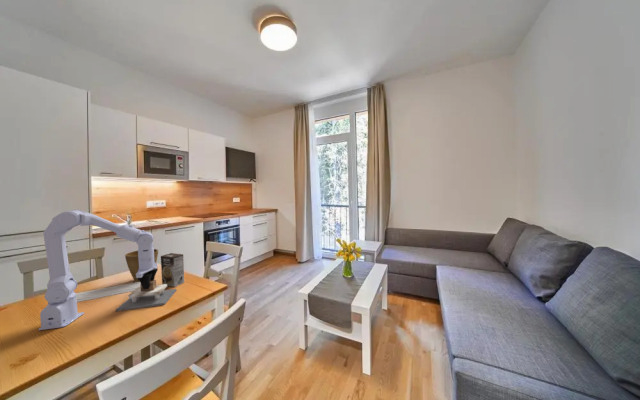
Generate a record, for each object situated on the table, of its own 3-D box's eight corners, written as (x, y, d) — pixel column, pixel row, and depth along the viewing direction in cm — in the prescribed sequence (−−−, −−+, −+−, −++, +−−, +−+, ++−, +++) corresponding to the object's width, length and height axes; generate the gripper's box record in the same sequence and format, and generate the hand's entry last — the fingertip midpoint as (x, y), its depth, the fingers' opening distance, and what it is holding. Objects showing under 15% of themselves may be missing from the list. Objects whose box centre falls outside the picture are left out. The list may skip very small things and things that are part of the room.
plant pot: (147, 284, 119) (146, 255, 118) (119, 285, 118) (117, 256, 117) (165, 273, 133) (164, 248, 133) (140, 274, 133) (138, 248, 132)
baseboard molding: (142, 291, 112) (146, 283, 122) (142, 286, 112) (146, 277, 122) (53, 309, 96) (66, 298, 106) (52, 303, 96) (66, 292, 106)
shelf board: (128, 297, 96) (127, 287, 96) (138, 289, 104) (137, 280, 103) (159, 293, 99) (159, 283, 99) (167, 286, 107) (166, 277, 107)
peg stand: (164, 304, 97) (164, 296, 97) (116, 311, 92) (115, 302, 92) (176, 290, 111) (176, 283, 110) (134, 295, 106) (134, 287, 106)
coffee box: (161, 285, 117) (159, 256, 116) (172, 280, 123) (171, 252, 122) (174, 287, 115) (172, 257, 114) (185, 282, 121) (183, 253, 120)
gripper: (148, 262, 95) (150, 292, 95) (163, 253, 109) (164, 279, 109) (129, 264, 93) (131, 295, 93) (146, 254, 107) (148, 281, 107)
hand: (148, 286), depth 101 cm, fingers closed on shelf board, 3 cm apart
